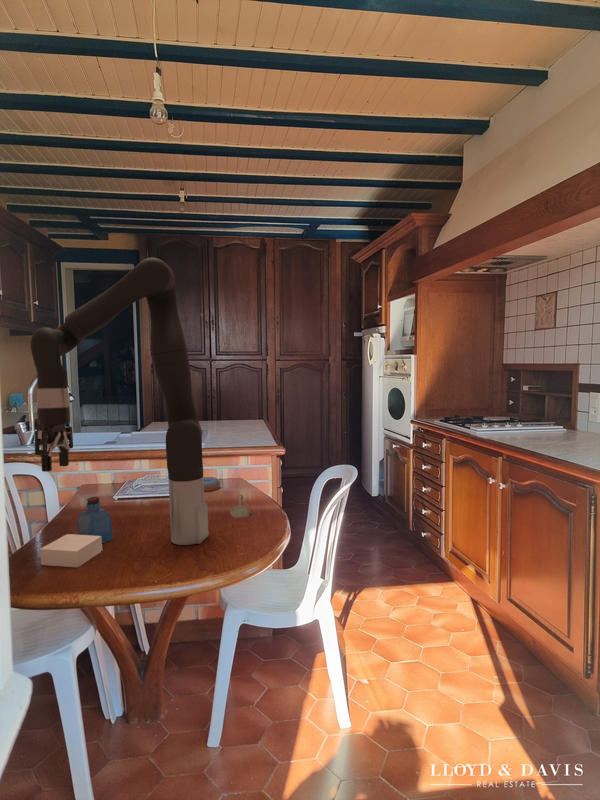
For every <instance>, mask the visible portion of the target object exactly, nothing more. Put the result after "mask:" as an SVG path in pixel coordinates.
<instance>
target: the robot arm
mask: <svg viewBox="0 0 600 800" xmlns="http://www.w3.org/2000/svg"><path fill="white" fill-rule="evenodd" d="M176 287H177V286H176V277H175V273H174V272H173V270H172V268H171V267H170V266H169V265H168V264H167V263H166V262H165V261H163V260H161V259H160V258H157V257H147V258H144V259H143V260H141V261H140V262H139V263H137V264H136V265H135V266H134V267H133V268H132V269H131V270H130V271H128V273H126V274H125V275H124V276H123V277H122V278H120V280H118V281H117V282H115V283H114V284H113V285H112V286H110V287H109V288H108V289H106V290H105V291H104V292H102V293H100V294H99V295H98V296H96V297H94V298H93V299H91V300H89V301H88V302H86V303H85V304H82V305H81V306H80V307H78V308H76V309H75V310H73V311H71V312H70V313H69V314H67V315H66V316H65V317H64V323H62V324H61V325H59V326H58V327H55V328H51V327H47V326H46V327H39V328H37V329H36V330H35V331H34V332H33V334H32V335H31V339H30V350H31V355H32V359H33V363H34V366H35V370H36V373H37V374H36V380H37V381H36V382H37V384H36V385H37V386H36V387H37V393H36V410H37V411H36V414H37V425H38V426H42V430H35V431H34V454H35V456H39V457H41V458H40V459H41V471H42V472H43V473H44V472H47V473H48V472H52V471H53V466H52V465H53V464H52V461H53V459H52V454H53V451H54V450H55V449H57V450H58V451H59V452H58V460H59V461H58V462H59V466H60V467H68V466H69V464H70V463H69V462H70V461H69V460H70V459H69V452H70V451H71V449H74V437H73V436H74V435H73V426H66V425H68V424H70V423H71V411H70V410H71V409H70V408H71V405H70V394H69V388H68V384H69V380H68V379H69V377H68V372H67V371H68V370H67V369H66V367H65V366H63V365H62V359H61V356H64V355H66V354H68V353H69V352H71V351H72V350H73V349H74V348H76V347H77V346H78V345H79V344H80V343H81V342H82V341H83V340H84V339H85V338H87V337H89V336H91V335H93V334H94V333H96V332H97V331H99V330H101V329H102V328H104V327H106V325H108V324H109V323H111V322H112V321H113V320H114V319H115V318H116V317H117V316H118V315H119V314H120V313H121V312H122V311H124V310H125V309H126V308H127V307H129V306H131V305H132V304H134V303H136V302H137V301H139V300H142V299H144V298H146V303H147V306H148V310H149V314H150V337H149V338H150V339H149V340H150V345H149V346H150V352H151V353H150V354H151V359H152V364H153V369H154V373H155V376H156V380H157V382H158V385H159V388H160V391H161V393H162V396H163V398H164V403H165V406H166V407H165V408H166V413H167V426H168V427H167V431H166V432H165V451H166V453H165V456H166V468H167V474H168V496H169V497H168V498H169V519H170V520H169V521H170V541H171V542H172V543H173V544H175V545H178V546H190V545H196V544H197V545H200V544H201V543H203V542H204V540H206V539H207V538H208V536H209V517H208V516H209V515H208V513H209V511H208V502H205V492H204V481H203V477H204V463H203V441H202V439H203V430H202V427H201V424H200V421H199V418H198V415H197V411H196V407H195V404H194V400H193V390H192V389H193V388H192V376H191V375H192V373H191V365H190V360H189V354H188V350H187V344H186V339H185V335H184V330H183V327H182V324H181V321H180V317H179V316H180V315H179V309H178V302H177V301H178V300H177V291H176V289H177V288H176Z"/></svg>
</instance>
